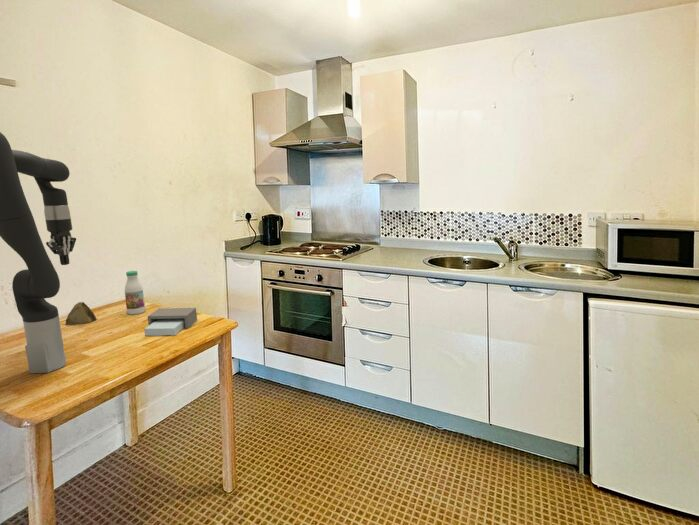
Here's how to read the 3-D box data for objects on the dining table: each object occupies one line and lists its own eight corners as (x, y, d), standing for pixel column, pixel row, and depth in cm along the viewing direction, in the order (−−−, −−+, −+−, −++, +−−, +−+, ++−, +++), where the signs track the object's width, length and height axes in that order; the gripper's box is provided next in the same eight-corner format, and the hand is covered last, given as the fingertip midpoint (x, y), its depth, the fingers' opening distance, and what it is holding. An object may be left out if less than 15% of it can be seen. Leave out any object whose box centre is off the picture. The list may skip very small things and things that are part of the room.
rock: (56, 321, 168) (76, 319, 167) (62, 303, 172) (82, 301, 171) (77, 329, 178) (96, 327, 176) (82, 311, 182) (101, 309, 180)
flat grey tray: (175, 335, 158) (174, 327, 157) (145, 335, 158) (144, 328, 157) (190, 321, 174) (190, 315, 173) (163, 322, 174) (162, 315, 173)
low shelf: (188, 328, 166) (187, 315, 165) (148, 329, 165) (147, 316, 164) (197, 319, 176) (196, 307, 175) (160, 320, 176) (158, 308, 175)
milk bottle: (128, 311, 190) (123, 270, 186) (145, 308, 193) (141, 269, 189) (126, 315, 183) (121, 273, 179) (145, 313, 186) (140, 272, 182)
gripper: (55, 219, 136) (63, 268, 140) (80, 216, 149) (86, 261, 153) (33, 219, 136) (41, 268, 140) (60, 216, 149) (67, 261, 153)
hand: (65, 264), depth 146 cm, fingers closed
